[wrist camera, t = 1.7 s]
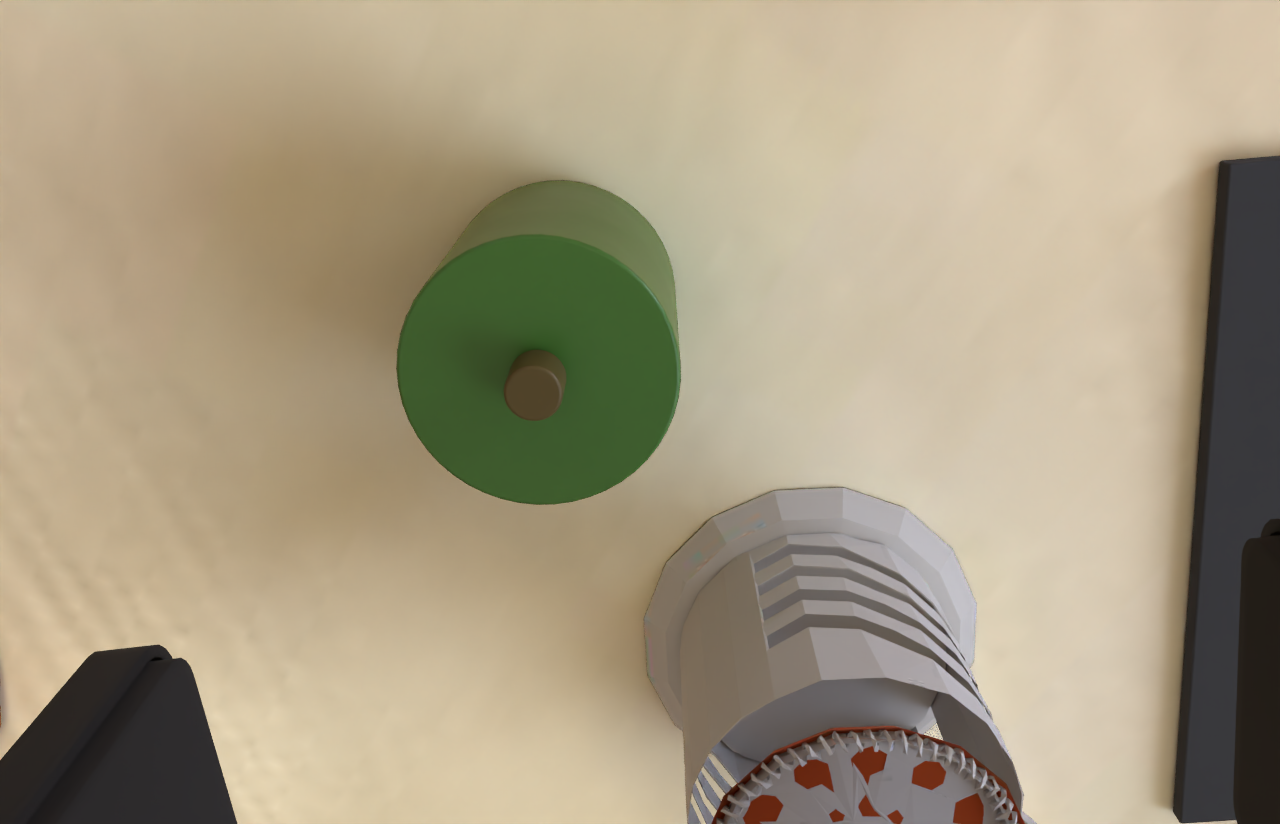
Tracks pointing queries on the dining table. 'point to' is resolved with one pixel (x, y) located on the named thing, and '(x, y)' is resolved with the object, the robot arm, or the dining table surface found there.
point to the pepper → (545, 346)
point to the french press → (827, 668)
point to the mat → (1230, 475)
